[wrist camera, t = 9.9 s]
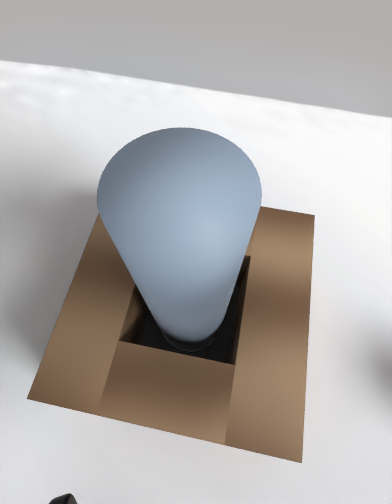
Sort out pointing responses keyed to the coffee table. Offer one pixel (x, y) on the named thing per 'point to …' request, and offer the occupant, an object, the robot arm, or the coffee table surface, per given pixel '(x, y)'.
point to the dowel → (182, 225)
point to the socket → (184, 366)
